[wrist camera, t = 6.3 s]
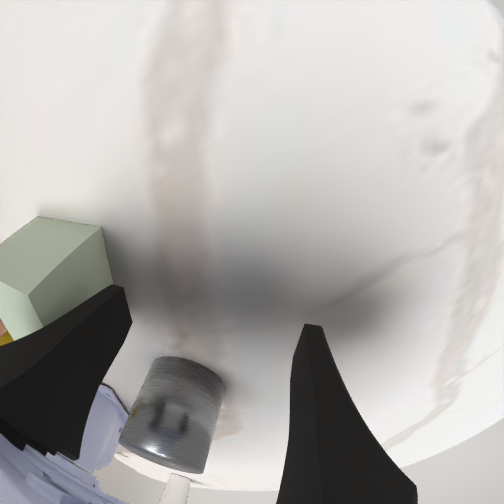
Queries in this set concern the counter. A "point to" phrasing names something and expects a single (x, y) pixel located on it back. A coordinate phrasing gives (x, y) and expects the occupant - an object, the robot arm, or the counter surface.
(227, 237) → the counter surface
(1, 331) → the peach rounded cylinder
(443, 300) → the counter surface
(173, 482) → the drinking glass
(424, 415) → the counter surface
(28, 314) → the block
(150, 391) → the can
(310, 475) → the robot arm
